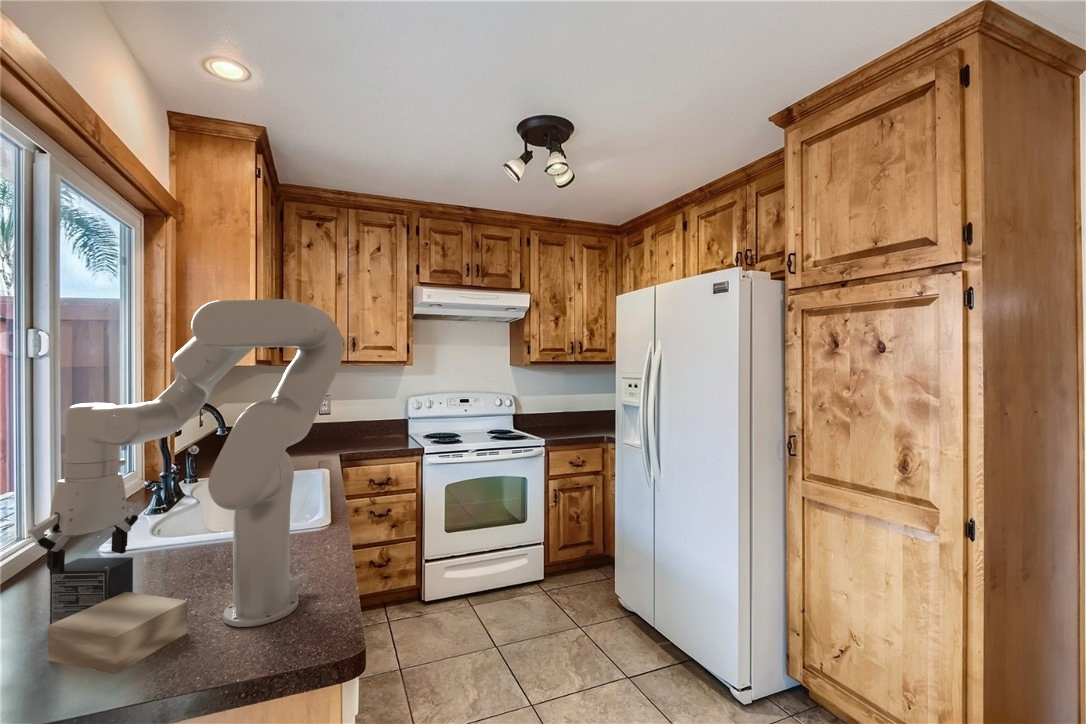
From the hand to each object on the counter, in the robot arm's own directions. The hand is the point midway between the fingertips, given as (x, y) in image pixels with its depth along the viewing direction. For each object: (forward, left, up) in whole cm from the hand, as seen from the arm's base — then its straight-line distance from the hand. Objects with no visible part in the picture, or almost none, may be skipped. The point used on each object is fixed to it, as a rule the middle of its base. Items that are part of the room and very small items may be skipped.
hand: (88, 561), depth 93 cm
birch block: (+4, +16, -11) cm, 20 cm away
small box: (0, +1, -11) cm, 11 cm away
